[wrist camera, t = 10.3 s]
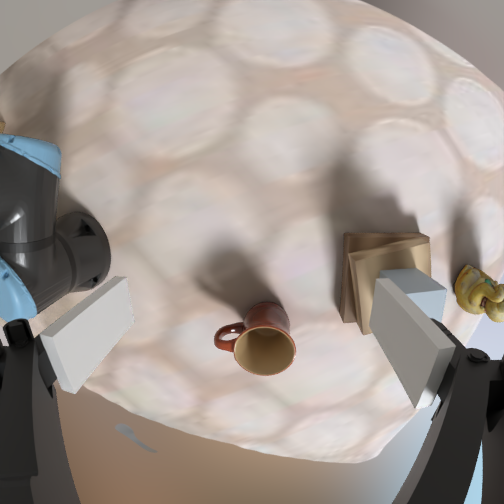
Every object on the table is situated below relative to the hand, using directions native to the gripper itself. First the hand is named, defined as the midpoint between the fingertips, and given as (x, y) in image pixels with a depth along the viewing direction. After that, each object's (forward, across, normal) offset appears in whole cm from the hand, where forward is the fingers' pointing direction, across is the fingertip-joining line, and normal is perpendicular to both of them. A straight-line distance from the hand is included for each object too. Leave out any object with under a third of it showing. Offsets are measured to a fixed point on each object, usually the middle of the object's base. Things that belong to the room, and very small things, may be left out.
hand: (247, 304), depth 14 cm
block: (+23, +20, -9) cm, 31 cm away
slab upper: (+27, +20, -9) cm, 34 cm away
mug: (+31, -1, -17) cm, 35 cm away
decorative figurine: (+30, +40, -12) cm, 51 cm away
